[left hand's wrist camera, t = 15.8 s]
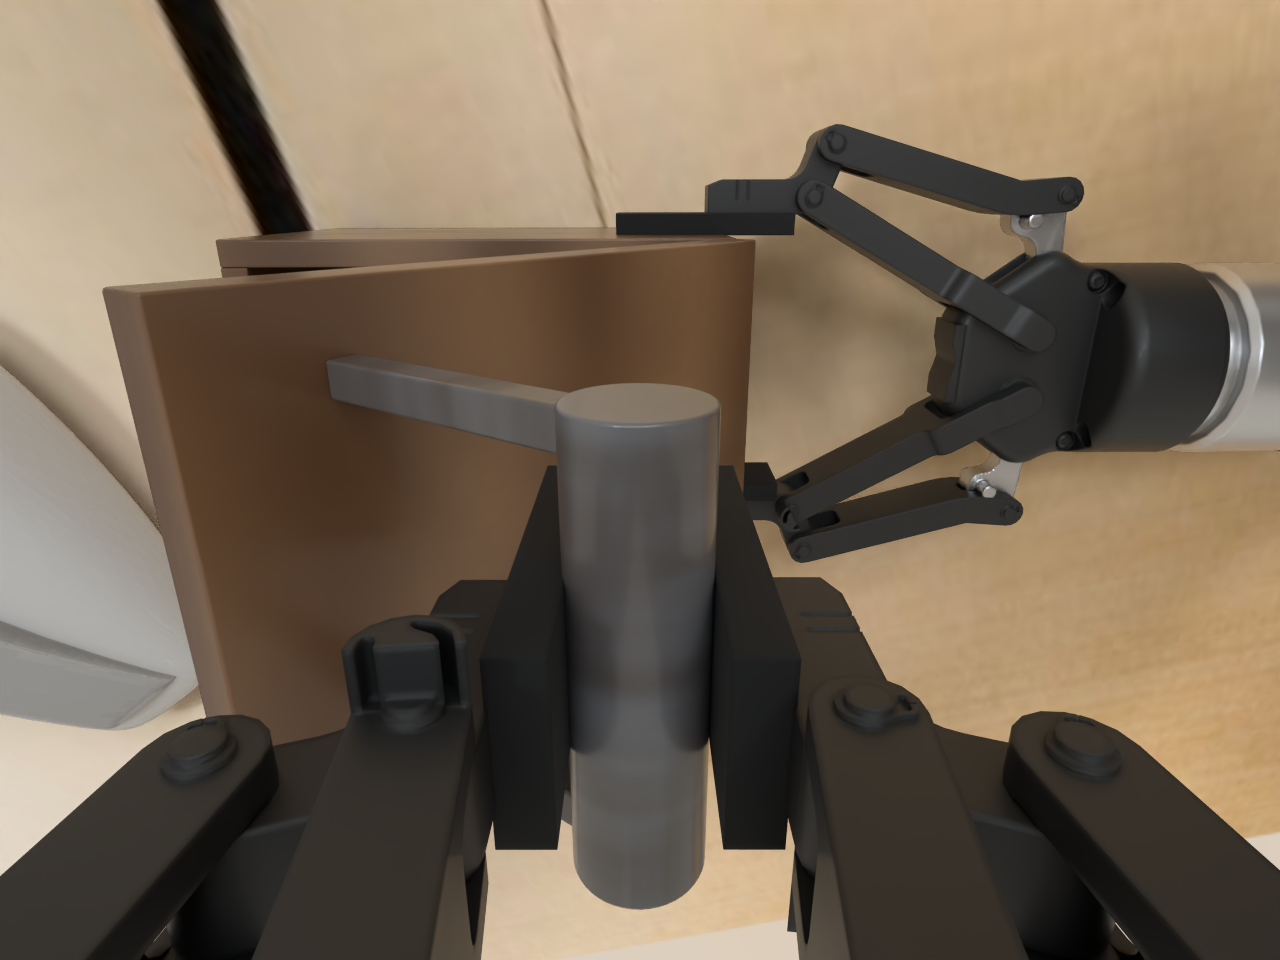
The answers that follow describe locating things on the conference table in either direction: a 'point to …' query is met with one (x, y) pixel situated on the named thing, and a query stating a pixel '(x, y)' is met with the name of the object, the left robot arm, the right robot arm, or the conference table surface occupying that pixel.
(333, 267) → the chest
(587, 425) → the lid
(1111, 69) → the conference table surface
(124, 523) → the projector
